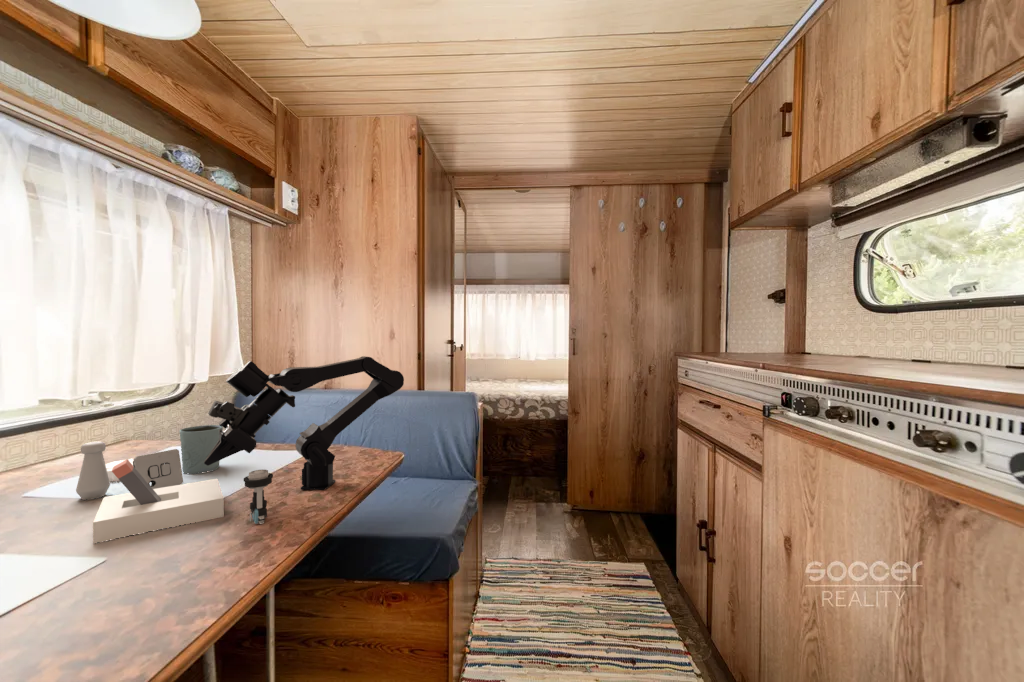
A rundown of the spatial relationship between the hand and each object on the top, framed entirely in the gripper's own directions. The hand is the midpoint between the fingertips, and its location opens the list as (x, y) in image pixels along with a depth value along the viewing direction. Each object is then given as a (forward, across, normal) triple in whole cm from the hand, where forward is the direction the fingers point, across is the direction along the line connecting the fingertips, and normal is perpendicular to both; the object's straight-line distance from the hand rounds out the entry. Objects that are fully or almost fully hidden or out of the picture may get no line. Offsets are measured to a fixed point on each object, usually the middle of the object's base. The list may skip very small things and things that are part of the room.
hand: (205, 464), depth 96 cm
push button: (+1, +15, +13) cm, 20 cm away
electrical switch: (+14, -23, +1) cm, 27 cm away
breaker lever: (+11, 0, -1) cm, 11 cm away
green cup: (+6, -36, +8) cm, 37 cm away
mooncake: (+18, -42, -4) cm, 46 cm away
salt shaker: (+22, -24, -8) cm, 34 cm away
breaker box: (+12, 0, +2) cm, 12 cm away
